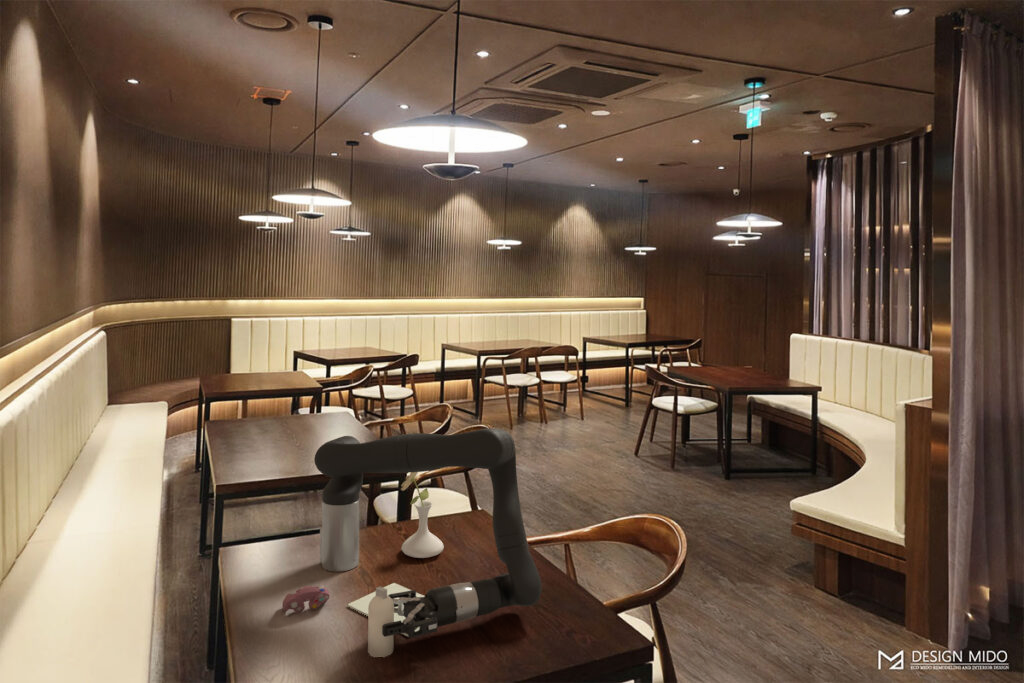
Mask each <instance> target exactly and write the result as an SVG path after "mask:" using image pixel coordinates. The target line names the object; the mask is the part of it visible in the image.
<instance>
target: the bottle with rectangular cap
mask: <svg viewBox="0 0 1024 683" xmlns="http://www.w3.org/2000/svg"><path fill="white" fill-rule="evenodd" d="M375 591H376V596H375V597H373V598H372V600H371V601H370V603H369V607H368V619H367V621H368V622H367V623H368V625H367V626H368V627H367V629H368V630H367V653H369V654H370V655H371V656H370V655H369V654H368V655H369V656H370V657H372V656H373V657H372V658H375V657H383V658H387V657H389V656H390V655H392V654H393V653H394V645H395V644H394V641H395V639H394V635H391V636H386V637H384V636H383V634H382V626H383V625H384V624H387V623H392V622H394V603H393V600H392V599H391V598H390V597H389V596H388V595H387V589H385V588H384V587H383V586H380V585H379V586H377V587H375ZM388 655H389V656H388ZM386 656H387V657H386Z"/></svg>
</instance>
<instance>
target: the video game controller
mask: <svg viewBox="0 0 1024 683" xmlns="http://www.w3.org/2000/svg"><path fill="white" fill-rule="evenodd" d="M329 599H330V591H329V590H328V588H326V586H324V585H319V586H315V585H306V586H303V587H301V588H299V589H297V590H291V591H290V592H288V593H287V594H286V596H285V597H284V599H283V600H282V604H281V605H282V609H283V611H284V612H286V611H287V612H288V610H293V611H294V612H295V613H297V612H298V613H302V612H303V611H304V610H305V607H306V605H305V603H306V602H308V609H310V610H312V609H313V610H317V609H318V608H319V607H320V606H321V605H322V604H325V603H327V602H328V600H329ZM316 608H317V609H316Z"/></svg>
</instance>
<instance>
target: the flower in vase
mask: <svg viewBox="0 0 1024 683" xmlns="http://www.w3.org/2000/svg"><path fill="white" fill-rule="evenodd" d="M418 473H419V472H409V474H408V475H406V477H405V480H404V481H403V482H402V484H401V485H400V487H401V488H400V490H401V491H403V492H404V491H405V490H406V489H407V488H408V487H409V486H410V485H412V483H414V485H415V487H416V490H417V492H418V495H416V496H414V497H413V498H412V499H411V501H410V504H409V505H414V507H415V509H416V510H417V513H418V529H417V531H415V533H414V534H412V535H410V536H409V537H408V538H407V539H405V541H403V543H402V545H401V551H402V552H403V554H404V555H406V556H408V557H412V558H417V559H424V558H425V559H427V558H431V557H434V556H437V555H439V554H441V553H442V552H443V550H444V548H445V545H444V543H443V542H442V540H441V539H439V538H438V537H437V536H436V535H435V534H433V533H431V532H430V530H429V528H428V517H429V512H430V510H431V508H432V506H433V505H434V504H433V502H432V501H429V500H426V499H429V496H430V494H429V491H428V488H427V487H426V488H424V490H422V491H421V492H420V490H419V486H418V485H417V482H416V480H415V478H416V477H417V475H418ZM418 499H419V501H418Z"/></svg>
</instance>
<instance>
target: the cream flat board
mask: <svg viewBox="0 0 1024 683" xmlns="http://www.w3.org/2000/svg"><path fill="white" fill-rule="evenodd" d="M383 588H385V589H387V595H389V594H394V593H400V592H406V591H411V590H412V589H409V588H407V587H405V586H403V585H400V584H398V583H396V582H393V583H391V584H388V585H386V586H384V587H383ZM375 596H376V590H374V591H373V592H370V593H368V594H367V595H364V596H362V597H361V598H358V599H356V600H354V601H352V602H350V603H348V604H347V608H349V607H350V608H349V609H351V610H353V609H354V610H353V611H355V610H356V611H355V612H357V611H358V614H361V613H362V614H361V615H363V614H364V615H363V616H365V615H366V616H365V617H367V616H368V607H369V603H370V601H371V600H372V598H373V597H375ZM416 597H425V595H423V594H420V593H418V592H416ZM394 599H399V598H394ZM394 608H398V607H394ZM403 609H404V605H403ZM404 619H405V617H404V616H399V615H398V613H394V622H396V621H400V620H401V622H403V620H404ZM419 629H420V627H418V628H417V629H416V630H415V632H416V631H419ZM400 634H401V635H404V636H406V637H408V634H406V635H405V634H403V633H400ZM408 638H409V637H408Z"/></svg>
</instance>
